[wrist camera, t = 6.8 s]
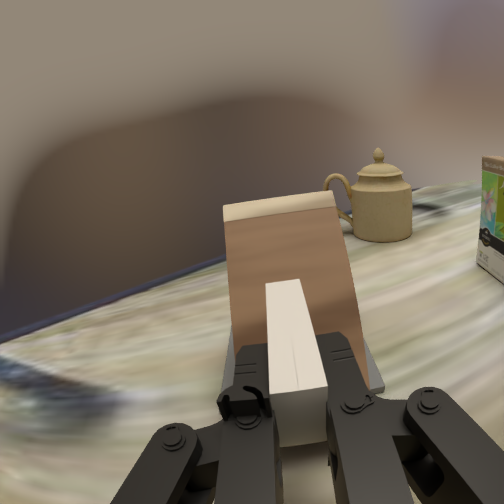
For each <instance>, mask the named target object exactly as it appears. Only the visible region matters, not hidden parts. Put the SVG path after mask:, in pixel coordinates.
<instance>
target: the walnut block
mask: <svg viewBox="0 0 504 504" xmlns="http://www.w3.org/2000/svg"><path fill="white" fill-rule="evenodd" d="M223 213H224V225H225V240H226V255H227V269H228V283H229V296H230V309H231V321H232V333H233V344H234V356H235V360H236V354H237V353H238V351H239V350H240V349H241V347H242V346H244V345H253V344H262V343H268V334H267V308H266V283H273V282H280V281H287V280H294V279H300V283H301V287H302V290H303V294H304V297H305V301H306V304H307V308H308V312H309V315H310V319H311V323H312V326H313V330H314V334H315V335H320V334H326V333H332V332H337V331H339V332H340V333H342V334H343V335H344V336H345V337H346V338H348V341H349V343H350V346H351V349H352V350H353V353H354V355H355V358H356V361H357V363H358V366H359V368H360V371H361V373H362V376H363V378H364V381H365V384H366V386H367V388H368V389H369V391H370V384H369V376H368V368H367V360H366V353H365V346H364V340H363V333H362V327H361V321H360V315H359V309H358V304H357V299H356V293H355V288H354V283H353V278H352V273H351V268H350V264H349V259H348V255H347V250H346V246H345V241H344V237H343V233H342V229H341V225H340V221H339V217H338V213H337V209H336V204H335V200H334V196H333V192H332V191H322V192H314V193H306V194H298V195H291V196H283V197H276V198H269V199H262V200H255V201H249V202H242V203H236V204H229V205H224V206H223Z"/></svg>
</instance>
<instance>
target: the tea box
mask: <svg viewBox="0 0 504 504" xmlns="http://www.w3.org/2000/svg"><path fill="white" fill-rule="evenodd" d="M476 262H477V263H478V264H480V265H481V266H482V267H483V268H484V269H485V270H487V271H488V272H489V273H491V274H492V275H493V276H494V277H496V278H497V279H498V280H499V281H501V282H502V283H503V284H504V157H499V156H483V157H482V201H481V219H480V232H479V240H478V249H477V257H476Z"/></svg>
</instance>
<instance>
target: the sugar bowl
mask: <svg viewBox="0 0 504 504" xmlns="http://www.w3.org/2000/svg"><path fill="white" fill-rule="evenodd" d="M373 158H374V160H375V163H374V164H371V165H368V166H366V167H364V168H363V169H362V170H361V171H360V172H358V173H357V175H359V180H358V182H357V183H356V184H355V185H353V186H351V187H350V184H349V182H348V180H347V179H346V178H345V177H344V176H343V175H341V174H331V175H330V176H328V177H327V178H326V180H325V182H324V185H323V191H328V186H329V182H330V181H331V180H333V179H335V178H336V179H339V180H341V181H342V182H343V184H344V186H345V189H346V191H347V195H348V197H349V200H350V202H351V206H352V218H351V217H349V216H348V215H347V214H345V213H344V212H342V211H341V210H339V209H338V208H337V207H336V209H337V213H338V216H339V217H341V218H342V219H344V220H346V221H347V222H349V223H350V224H351V226H352V227H353V231H354V235H355V236H356V237H358V238H360V239H363V240H366V241H372V242H394V241H399V240H403V239H406V238H408V237H409V236H410V235H411V233H412V191H411V186H410V185H409V184H407V183H405V182H404V180H403V179H402V176H401V174H403V172H402V171H400V170H399V169H398V168H397V167H395V166H393V165H389V164H386V163H384V162H383V159H384V154H383V152H382V151H381V150H380V149H379V148H377V149H376V150H375V151H374V154H373Z"/></svg>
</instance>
